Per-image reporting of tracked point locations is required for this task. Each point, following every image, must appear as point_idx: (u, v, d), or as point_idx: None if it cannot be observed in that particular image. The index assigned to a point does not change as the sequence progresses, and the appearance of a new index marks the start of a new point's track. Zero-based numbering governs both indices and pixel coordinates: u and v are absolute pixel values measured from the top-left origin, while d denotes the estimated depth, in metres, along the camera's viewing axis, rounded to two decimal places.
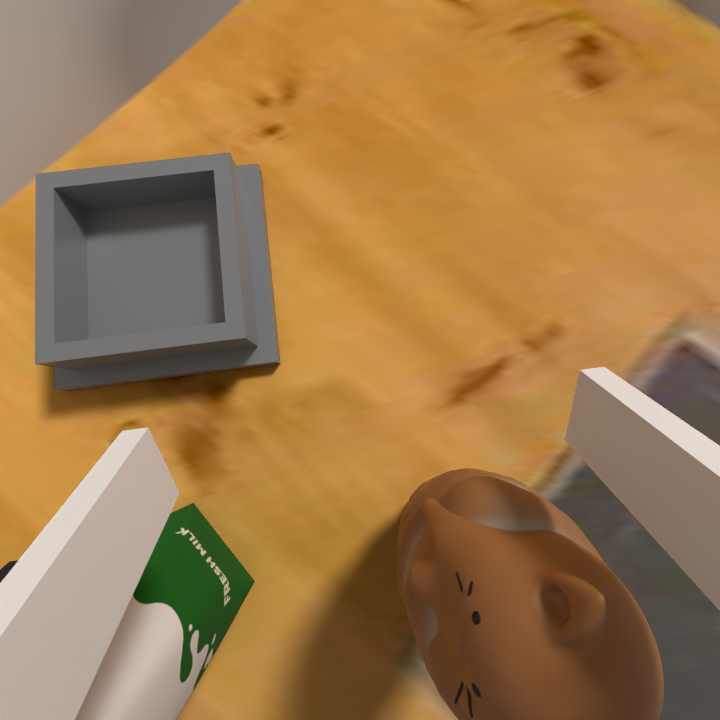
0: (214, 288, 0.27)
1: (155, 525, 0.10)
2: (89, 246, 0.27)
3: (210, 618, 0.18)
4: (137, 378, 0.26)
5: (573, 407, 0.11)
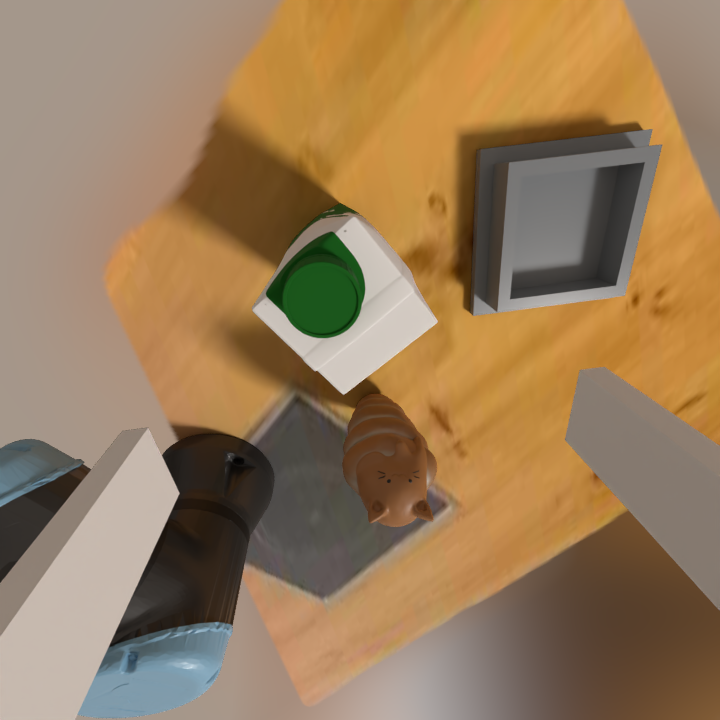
0: (531, 271, 0.38)
1: (155, 525, 0.10)
2: (589, 168, 0.34)
3: None
4: (478, 218, 0.35)
5: (573, 407, 0.11)
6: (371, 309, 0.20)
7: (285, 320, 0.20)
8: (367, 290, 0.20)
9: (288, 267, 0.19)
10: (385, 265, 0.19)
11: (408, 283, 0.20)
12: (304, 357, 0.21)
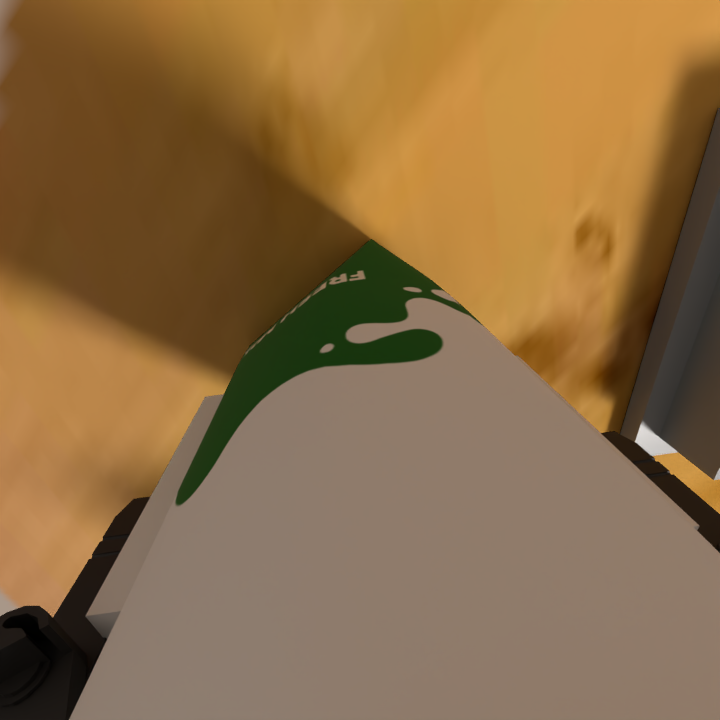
0: None
1: None
2: None
3: None
4: (691, 275, 0.15)
5: None
6: None
7: None
8: None
9: None
10: None
11: None
12: None
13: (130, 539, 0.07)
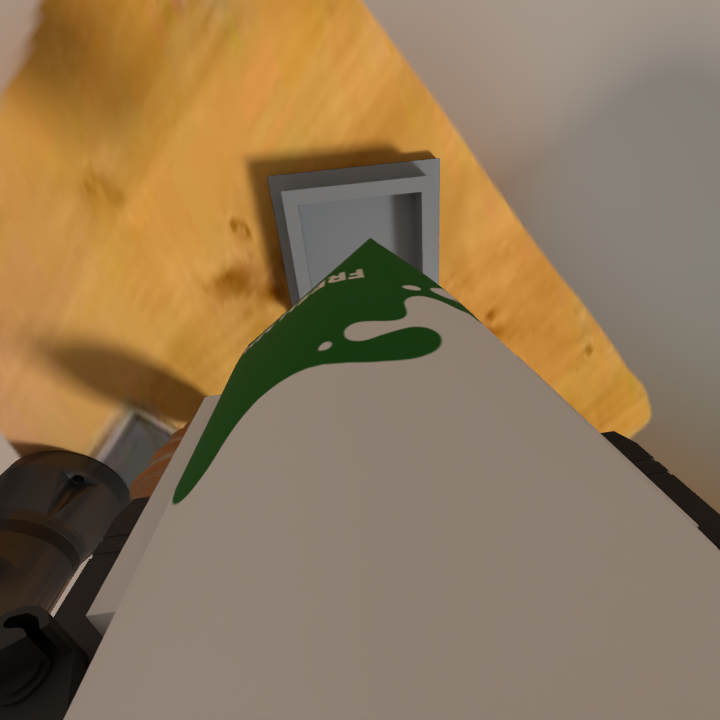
0: None
1: None
2: (384, 195, 0.34)
3: None
4: (280, 243, 0.35)
5: None
6: None
7: None
8: None
9: None
10: None
11: None
12: None
13: (131, 539, 0.07)
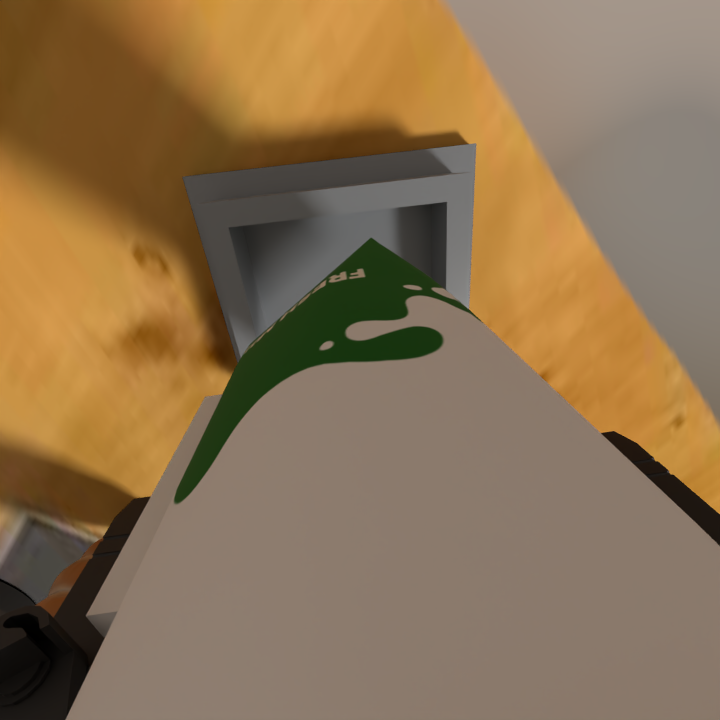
0: None
1: None
2: None
3: None
4: (215, 284, 0.22)
5: None
6: None
7: None
8: None
9: None
10: None
11: None
12: None
13: (130, 539, 0.07)
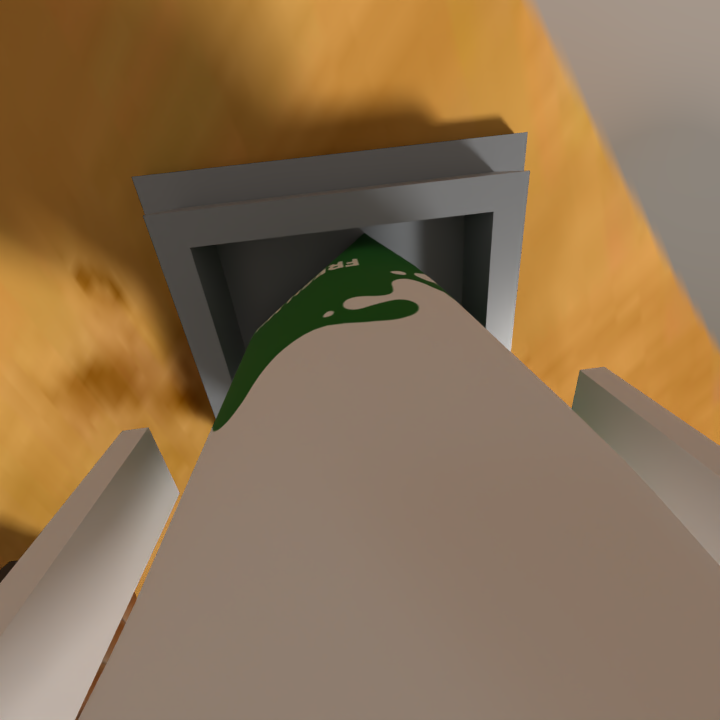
0: None
1: (155, 525, 0.10)
2: None
3: None
4: None
5: (573, 407, 0.11)
6: None
7: None
8: None
9: None
10: None
11: None
12: None
13: None
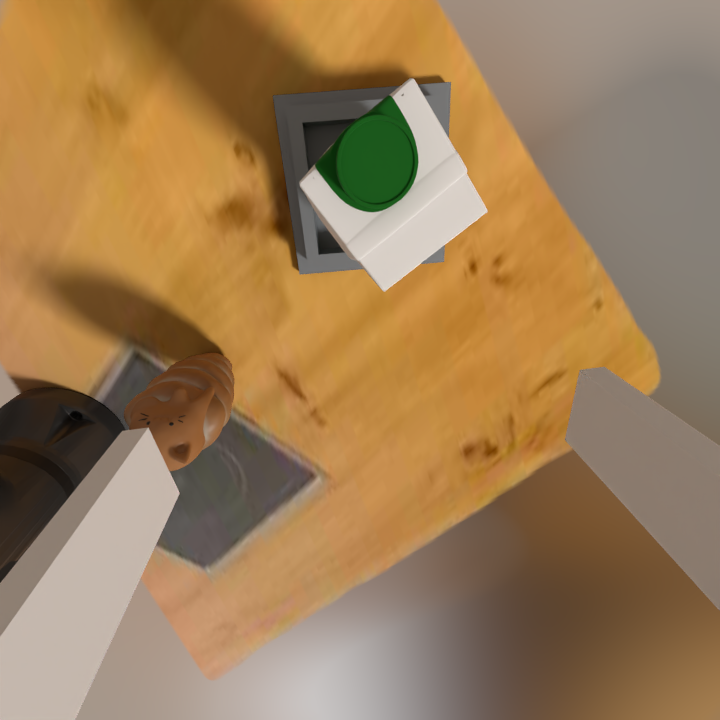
0: None
1: (155, 525, 0.10)
2: None
3: None
4: (284, 170, 0.34)
5: (573, 407, 0.11)
6: (421, 190, 0.19)
7: (332, 198, 0.19)
8: (419, 168, 0.19)
9: (340, 134, 0.18)
10: (439, 139, 0.19)
11: (461, 161, 0.19)
12: (348, 243, 0.21)
13: None
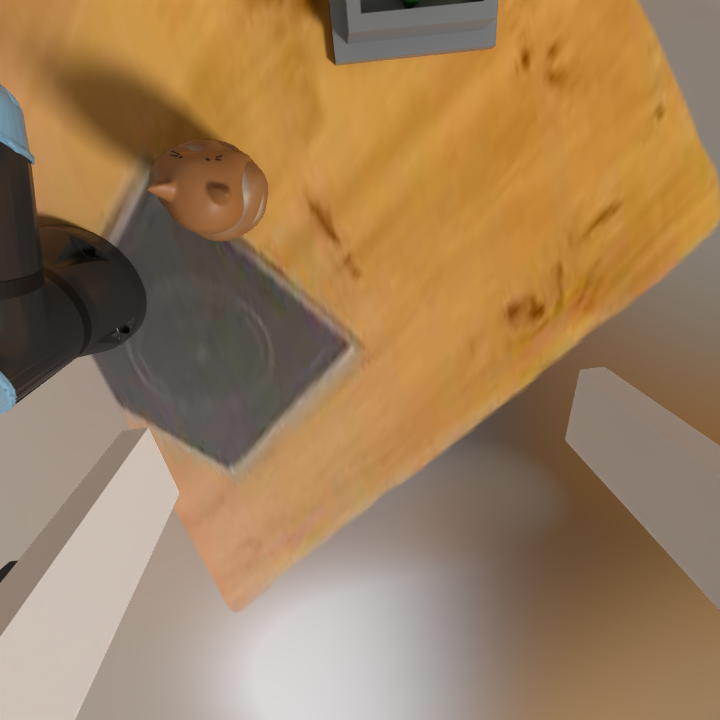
0: None
1: (155, 525, 0.10)
2: None
3: None
4: None
5: (573, 407, 0.11)
6: None
7: None
8: None
9: None
10: None
11: None
12: None
13: None
